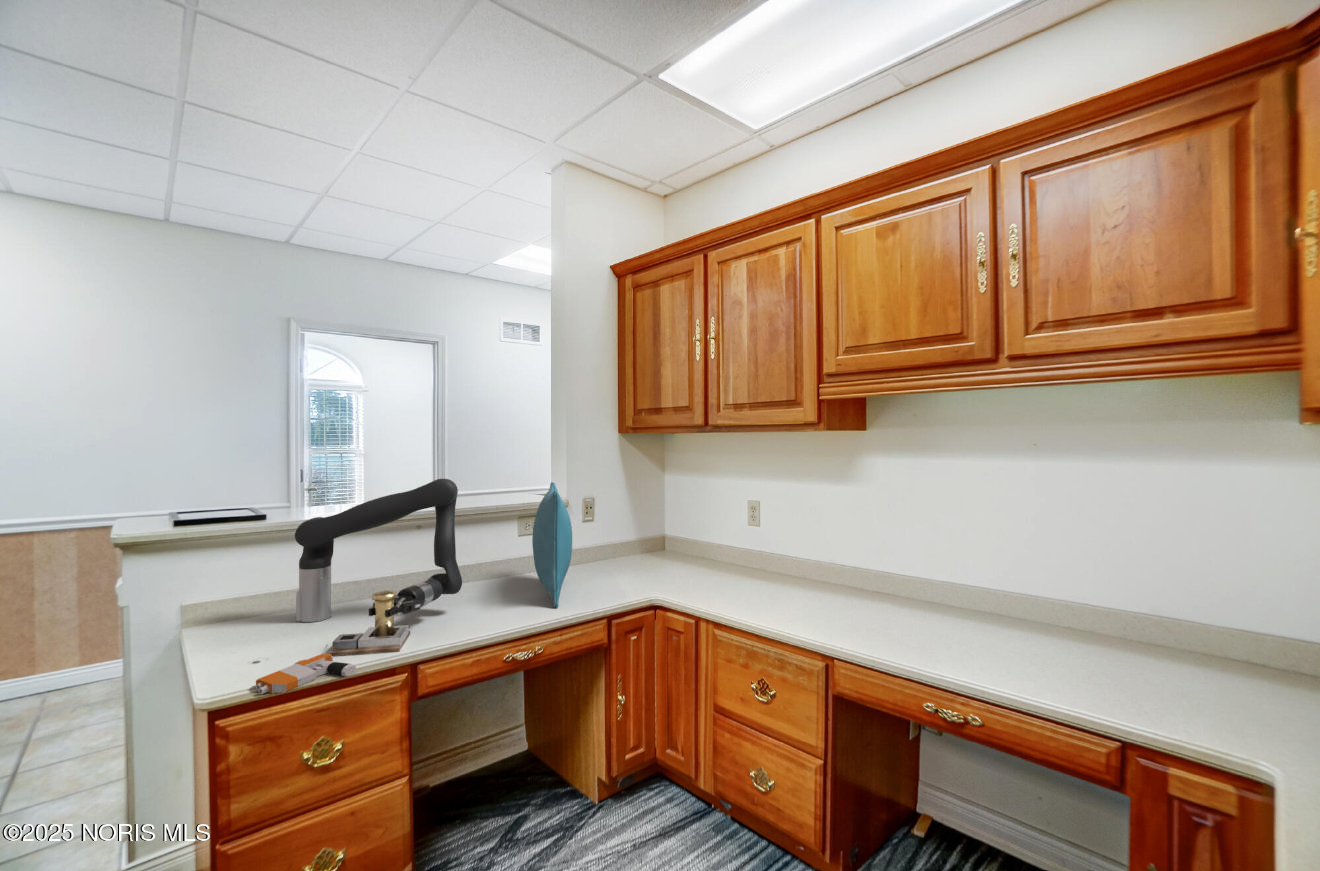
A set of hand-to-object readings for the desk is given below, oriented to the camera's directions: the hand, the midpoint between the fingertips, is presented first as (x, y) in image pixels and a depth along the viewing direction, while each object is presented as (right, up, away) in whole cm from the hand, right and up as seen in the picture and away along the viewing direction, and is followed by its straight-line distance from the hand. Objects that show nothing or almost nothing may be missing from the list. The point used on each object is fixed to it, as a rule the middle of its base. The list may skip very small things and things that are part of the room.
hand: (378, 613), depth 166 cm
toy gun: (-8, -10, -22) cm, 26 cm away
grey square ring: (-8, -10, -2) cm, 13 cm away
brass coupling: (+1, -7, +3) cm, 8 cm away
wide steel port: (+1, -10, +3) cm, 10 cm away
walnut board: (-3, -10, +2) cm, 10 cm away
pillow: (+39, -10, +58) cm, 71 cm away
